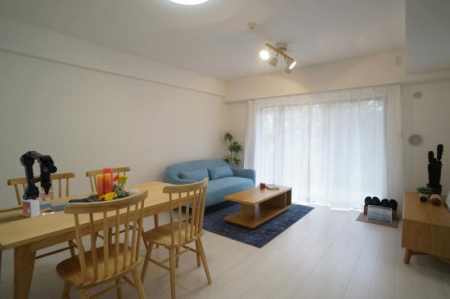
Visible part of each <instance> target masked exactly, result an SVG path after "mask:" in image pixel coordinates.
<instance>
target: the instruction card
mask: <svg viewBox="0 0 450 299" xmlns="http://www.w3.org/2000/svg"><path fill="white" fill-rule="evenodd" d="M51 214H55V212H52V211H48V212H42V213H41V216H47V215H51Z"/></svg>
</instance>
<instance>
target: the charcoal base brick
mask: <svg viewBox="0 0 450 299" xmlns="http://www.w3.org/2000/svg"><path fill="white" fill-rule="evenodd" d="M68 204H69V202H68V201H64V202H63V201H62V202H57V203H56V202H55V203H51V208H50V210H51V211H50V212H61V211H65V210H64V207H65V206H66V205H68Z"/></svg>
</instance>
